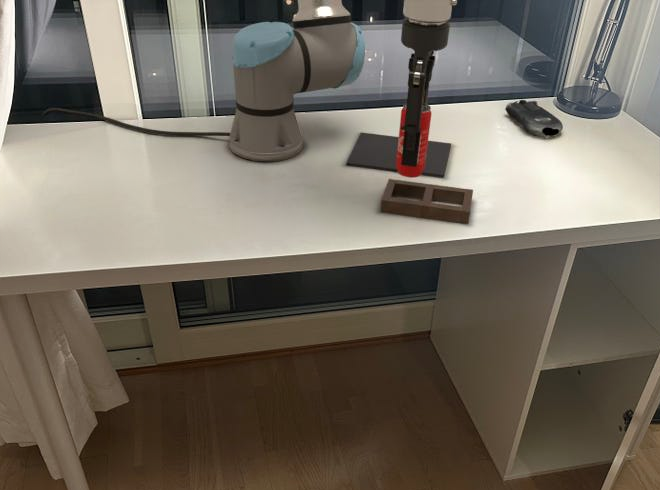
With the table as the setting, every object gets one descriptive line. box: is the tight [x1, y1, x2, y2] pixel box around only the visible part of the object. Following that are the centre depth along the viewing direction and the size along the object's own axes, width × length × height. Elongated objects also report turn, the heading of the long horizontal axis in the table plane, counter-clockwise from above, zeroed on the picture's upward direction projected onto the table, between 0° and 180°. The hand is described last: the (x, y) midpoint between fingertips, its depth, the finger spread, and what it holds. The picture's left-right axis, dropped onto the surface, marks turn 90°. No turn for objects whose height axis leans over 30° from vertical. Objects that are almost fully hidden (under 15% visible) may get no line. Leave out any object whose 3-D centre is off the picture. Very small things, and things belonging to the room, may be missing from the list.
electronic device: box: [504, 99, 564, 139], centre depth 162 cm, size 9×6×15 cm
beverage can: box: [396, 102, 432, 179], centre depth 124 cm, size 5×5×12 cm
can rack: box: [379, 178, 474, 225], centre depth 130 cm, size 16×9×2 cm, turn 79°
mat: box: [345, 131, 452, 179], centre depth 148 cm, size 20×16×1 cm
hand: (411, 157), depth 126 cm, fingers closed on beverage can, 5 cm apart
